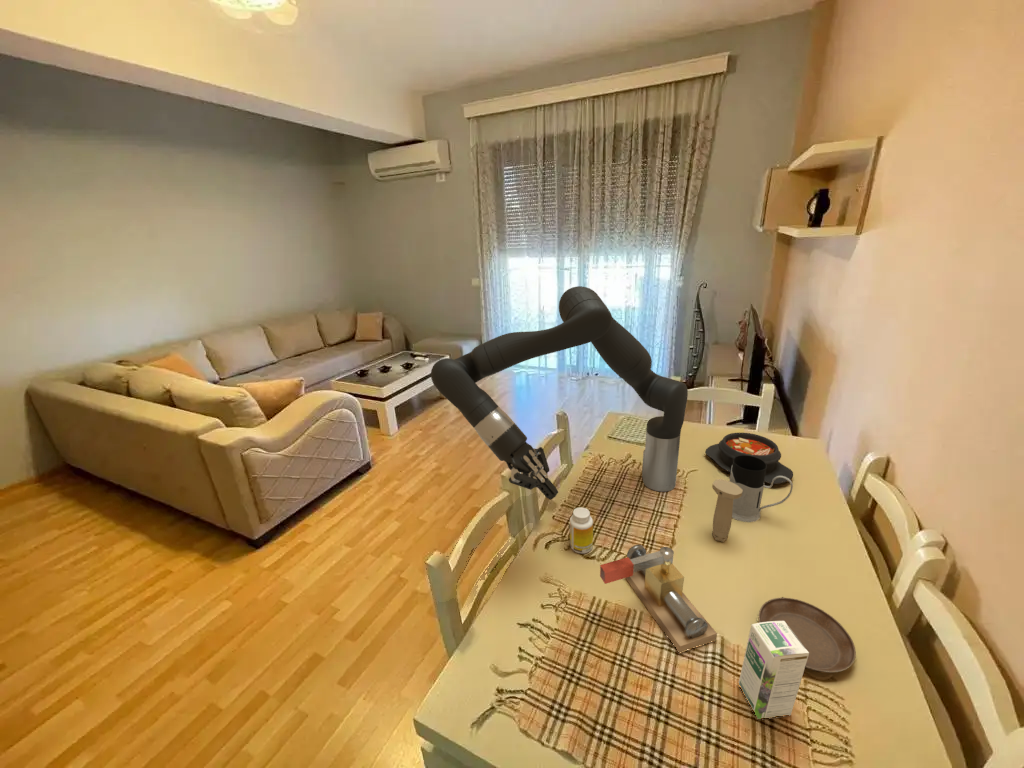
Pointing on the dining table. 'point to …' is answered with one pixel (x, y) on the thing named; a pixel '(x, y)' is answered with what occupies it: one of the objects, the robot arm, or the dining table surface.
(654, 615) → the oak base board
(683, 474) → the dining table surface
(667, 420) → the robot arm
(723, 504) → the handle
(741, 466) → the glass holder
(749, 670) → the syrup box
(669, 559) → the valve lever
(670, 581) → the brass ball valve
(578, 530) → the supplement bottle
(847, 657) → the saucer
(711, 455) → the casserole
